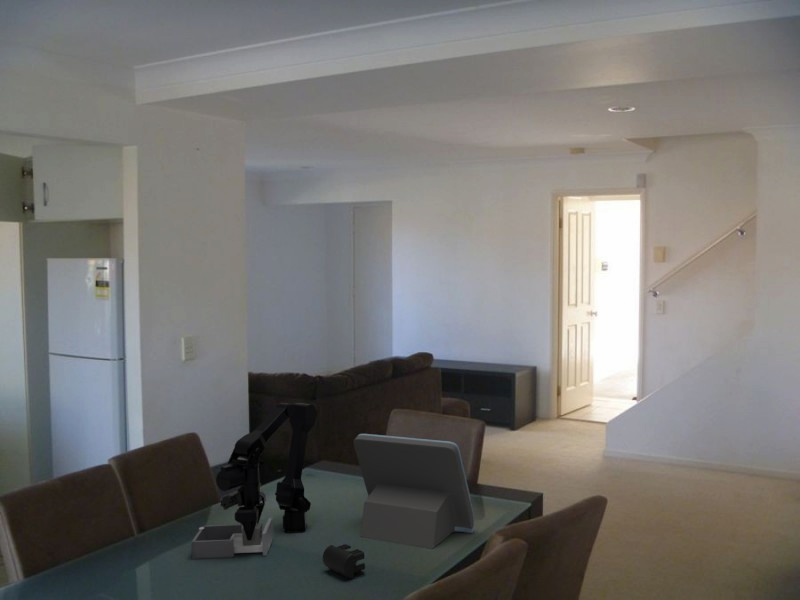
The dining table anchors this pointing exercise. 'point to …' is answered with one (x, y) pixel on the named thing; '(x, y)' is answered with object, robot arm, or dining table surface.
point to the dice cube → (255, 538)
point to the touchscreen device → (413, 490)
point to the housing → (215, 541)
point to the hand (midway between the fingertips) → (252, 534)
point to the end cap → (344, 560)
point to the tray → (264, 547)
